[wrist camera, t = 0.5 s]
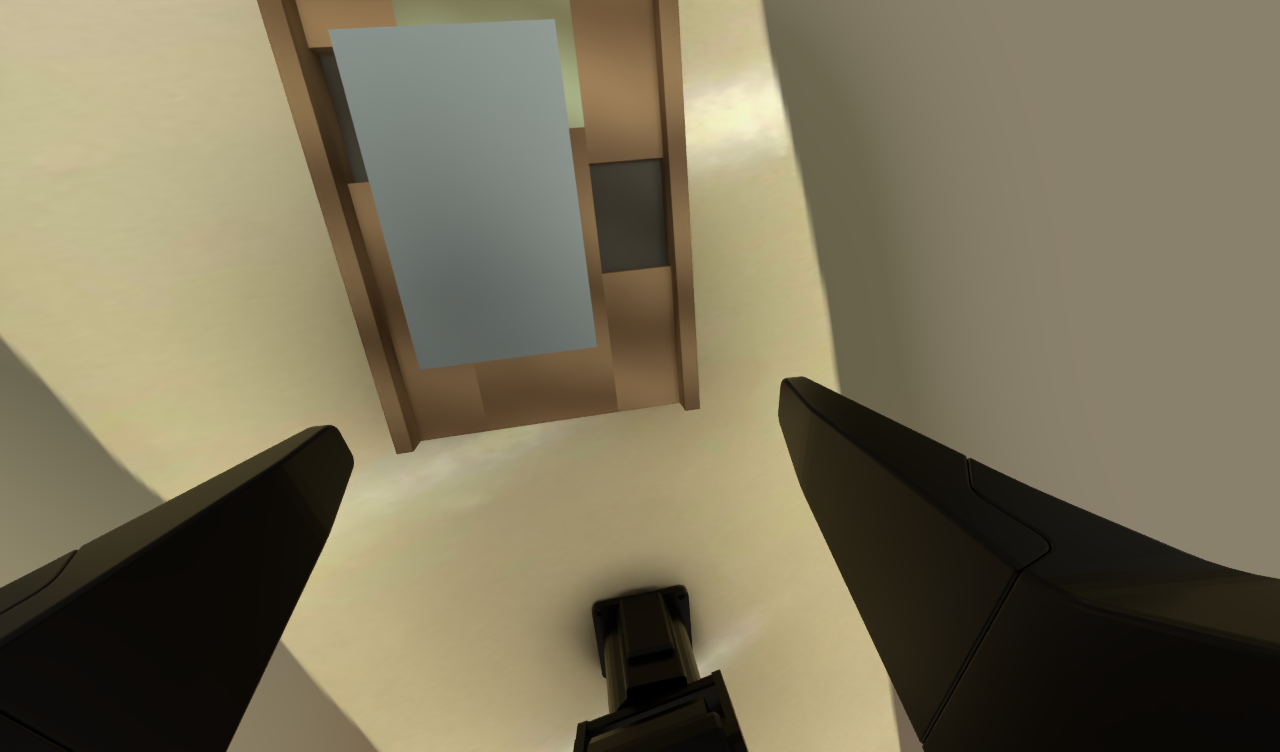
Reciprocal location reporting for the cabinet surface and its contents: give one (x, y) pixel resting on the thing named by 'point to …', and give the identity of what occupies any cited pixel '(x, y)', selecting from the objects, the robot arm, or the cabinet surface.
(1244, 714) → the robot arm
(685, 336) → the tray
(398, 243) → the slate block
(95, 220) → the cabinet surface
